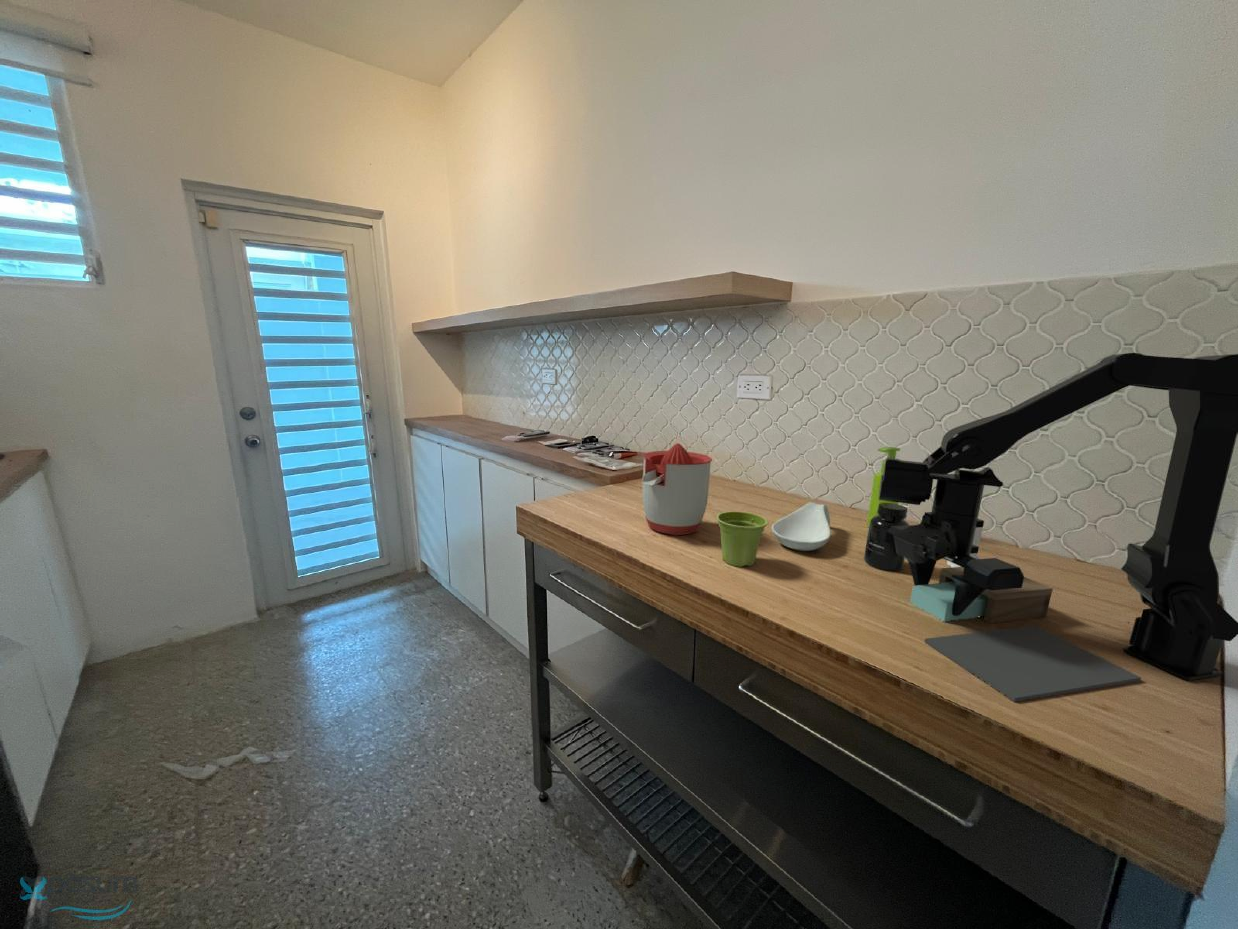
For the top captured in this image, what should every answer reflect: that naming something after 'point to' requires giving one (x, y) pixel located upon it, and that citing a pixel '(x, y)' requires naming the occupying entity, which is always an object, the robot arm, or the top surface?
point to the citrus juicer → (675, 489)
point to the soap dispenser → (876, 485)
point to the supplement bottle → (876, 547)
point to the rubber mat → (1030, 662)
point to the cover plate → (945, 601)
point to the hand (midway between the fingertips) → (937, 604)
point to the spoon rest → (804, 528)
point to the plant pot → (740, 536)
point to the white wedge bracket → (975, 542)
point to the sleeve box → (1010, 599)
